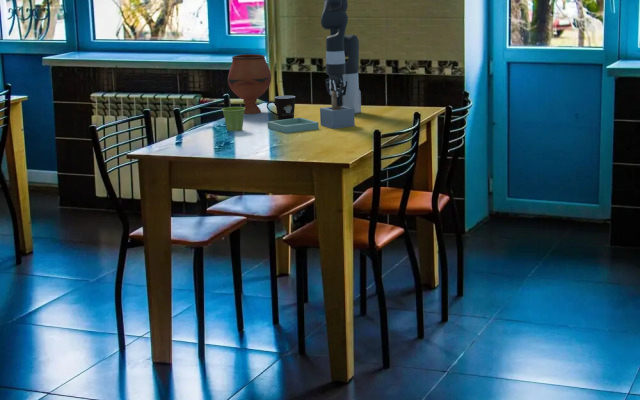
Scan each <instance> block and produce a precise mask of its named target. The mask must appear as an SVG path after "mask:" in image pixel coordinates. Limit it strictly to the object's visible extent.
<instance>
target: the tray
mask: <svg viewBox="0 0 640 400" xmlns="http://www.w3.org/2000/svg"><path fill="white" fill-rule="evenodd" d="M319 127H320V126H319V121H314V120H312V119H307V118H304V117H294V118H293V119H285V120H278V119H277V120H270V121H267V129H270V130H273V131H277V132H280V133H283V134H289V133H296V132H298V133H299V132H303V131H304V132H305V131H313V130H319V129H320V128H319Z"/></svg>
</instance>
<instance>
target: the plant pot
mask: <svg viewBox="0 0 640 400" xmlns="http://www.w3.org/2000/svg"><path fill="white" fill-rule="evenodd" d="M244 107H245V106H230V107H229V106H228V107H224V108H221V111H222V114H223V117H224V122H225V125H226V131H228V132H236V131H238V132H239V131H242V130H243V126H244V125H243V124H244V115H245V114H244V110H245V108H244Z"/></svg>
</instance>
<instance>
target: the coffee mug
mask: <svg viewBox="0 0 640 400" xmlns="http://www.w3.org/2000/svg"><path fill="white" fill-rule="evenodd" d="M271 103H272V104H274V106H275V110H276V112H275V111H272V109H270V108H269V104H271ZM295 106H296V96H295V95H278V96H275V97H274V101H273V100H271V101H268V102H267V103H266V109H267V110H268V111H269V112H270V113H272V114H274V115H276V116H277V120H285V119H293V118H295V108H296V107H295Z"/></svg>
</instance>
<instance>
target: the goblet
mask: <svg viewBox="0 0 640 400" xmlns="http://www.w3.org/2000/svg"><path fill="white" fill-rule="evenodd" d="M265 57H266V55H263V54H258V53H257V54H254V53H250V54H247V53H245V54H236V55H233V56H232V57H231V59H232V62H231V65H230V69H229V72H228V74H227V75H228V76H227V83H228V86H229V88H230V90H231V91H232V93H233V94H235V95H236V97H238V98H240V99H242V100H243V101H242V102H243V103H244V104H245V105H244V106H243V107H244V108H245V110H244V115H251V114H253V115H254V114H256V115H257V114H259V113H261V112H262V111H261V109H260V106H258V105H257V104H256V102H258V98H260V97H261V96H262V95H264V94H265V93H266V92H267V90H268V89H269V88H270V85H271V81H272V74H271V71H270V67H269V65H268V63H267V60H266V58H265Z"/></svg>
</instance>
